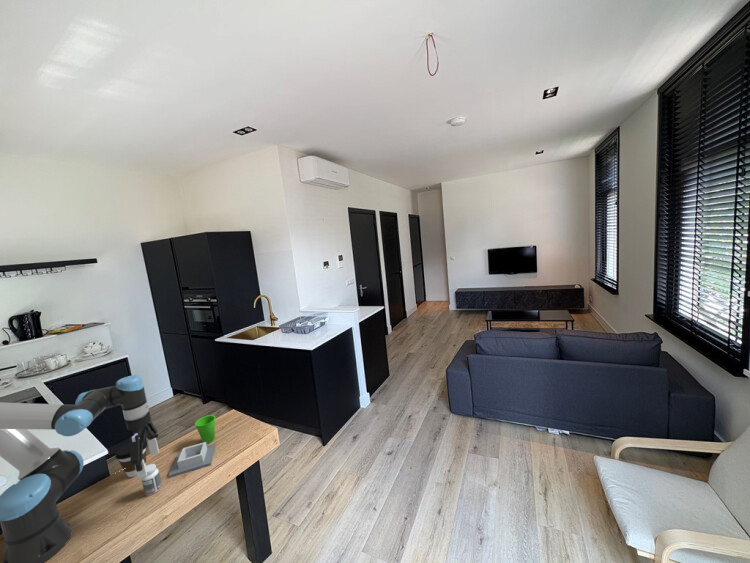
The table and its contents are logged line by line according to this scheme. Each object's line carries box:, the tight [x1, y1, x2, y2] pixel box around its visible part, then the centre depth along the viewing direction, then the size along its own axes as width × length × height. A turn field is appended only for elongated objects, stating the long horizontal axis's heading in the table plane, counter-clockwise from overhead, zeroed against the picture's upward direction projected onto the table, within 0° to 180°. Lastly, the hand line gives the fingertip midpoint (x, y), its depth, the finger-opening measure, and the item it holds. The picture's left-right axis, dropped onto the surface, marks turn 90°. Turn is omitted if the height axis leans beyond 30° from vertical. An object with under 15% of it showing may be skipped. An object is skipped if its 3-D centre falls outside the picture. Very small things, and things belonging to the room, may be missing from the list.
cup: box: [194, 414, 217, 444], centre depth 148 cm, size 9×9×11 cm
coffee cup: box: [114, 440, 148, 478], centre depth 131 cm, size 11×11×12 cm
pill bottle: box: [140, 463, 163, 496], centre depth 120 cm, size 6×6×10 cm
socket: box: [168, 442, 217, 478], centre depth 135 cm, size 16×14×4 cm
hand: (149, 464), depth 119 cm, fingers open, 13 cm apart
